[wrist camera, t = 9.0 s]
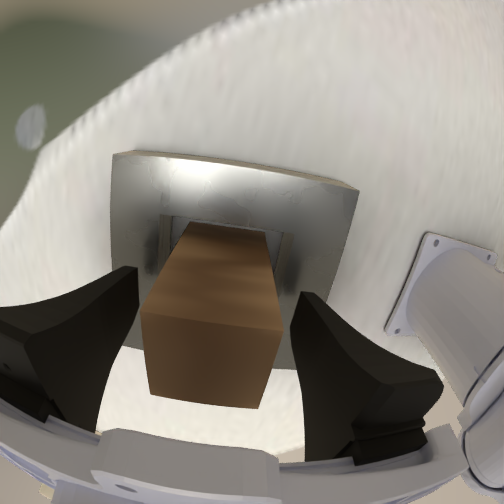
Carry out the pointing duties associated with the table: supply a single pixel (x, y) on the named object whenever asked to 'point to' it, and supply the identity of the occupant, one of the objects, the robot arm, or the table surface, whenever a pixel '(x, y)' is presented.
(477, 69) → the table surface
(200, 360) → the peg
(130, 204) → the collar
